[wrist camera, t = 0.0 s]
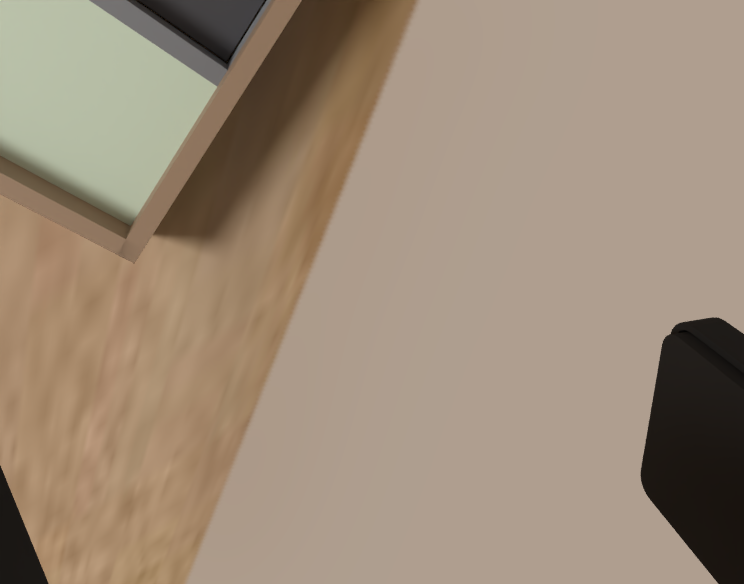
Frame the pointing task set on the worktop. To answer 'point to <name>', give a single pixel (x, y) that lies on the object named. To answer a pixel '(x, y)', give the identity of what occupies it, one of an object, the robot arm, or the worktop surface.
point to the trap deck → (120, 104)
